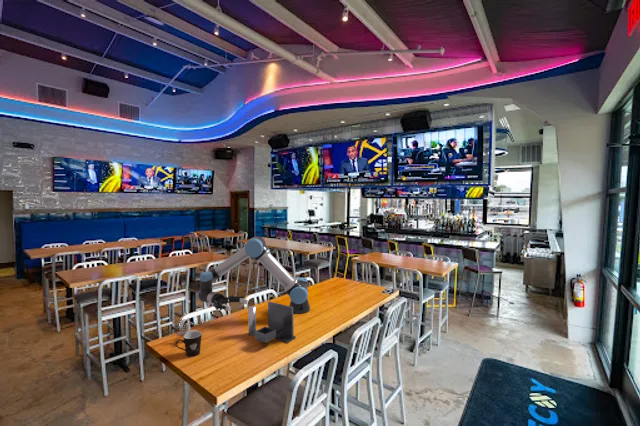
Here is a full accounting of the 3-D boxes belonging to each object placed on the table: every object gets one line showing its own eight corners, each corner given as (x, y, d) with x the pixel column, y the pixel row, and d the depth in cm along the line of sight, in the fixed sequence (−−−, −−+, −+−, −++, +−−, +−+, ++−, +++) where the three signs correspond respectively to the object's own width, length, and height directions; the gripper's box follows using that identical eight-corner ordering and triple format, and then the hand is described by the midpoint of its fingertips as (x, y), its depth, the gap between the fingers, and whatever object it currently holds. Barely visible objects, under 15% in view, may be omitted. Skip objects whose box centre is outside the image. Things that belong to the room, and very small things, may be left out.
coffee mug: (204, 349, 162) (204, 331, 162) (198, 358, 154) (198, 338, 153) (182, 350, 162) (181, 331, 162) (175, 358, 153) (174, 339, 153)
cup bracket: (271, 331, 185) (271, 300, 184) (295, 338, 175) (295, 306, 174) (248, 343, 169) (247, 310, 168) (273, 352, 159) (272, 317, 158)
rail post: (252, 331, 184) (252, 305, 183) (257, 333, 182) (257, 306, 181) (247, 334, 180) (246, 307, 179) (252, 336, 178) (251, 309, 177)
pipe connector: (176, 346, 166) (176, 328, 166) (179, 338, 176) (179, 321, 175) (196, 344, 169) (195, 326, 168) (198, 336, 178) (198, 319, 178)
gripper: (231, 299, 208) (253, 305, 196) (199, 310, 187) (222, 318, 175) (231, 288, 207) (253, 294, 196) (198, 298, 186) (222, 305, 175)
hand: (239, 305), depth 185 cm, fingers open, 13 cm apart
